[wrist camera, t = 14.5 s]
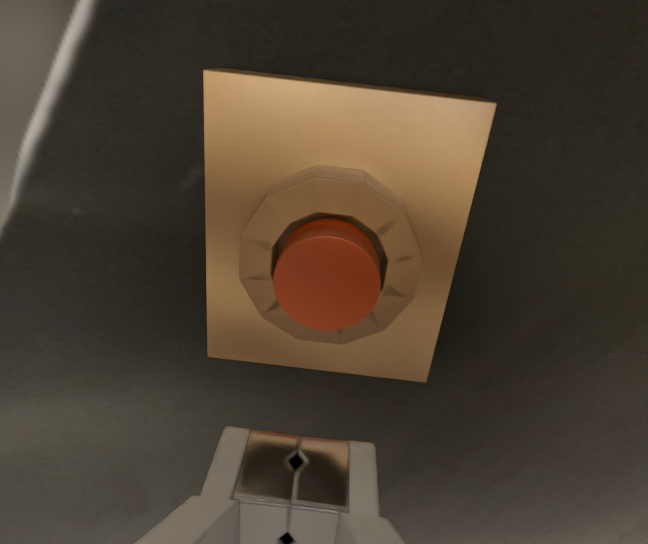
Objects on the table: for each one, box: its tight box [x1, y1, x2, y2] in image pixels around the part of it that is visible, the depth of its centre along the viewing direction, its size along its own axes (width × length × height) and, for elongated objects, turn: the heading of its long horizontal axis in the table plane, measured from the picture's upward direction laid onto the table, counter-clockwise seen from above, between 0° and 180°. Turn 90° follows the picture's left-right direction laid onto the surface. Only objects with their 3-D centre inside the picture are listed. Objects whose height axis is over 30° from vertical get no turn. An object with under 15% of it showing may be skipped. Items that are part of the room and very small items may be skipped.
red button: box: [273, 218, 381, 331], centre depth 16 cm, size 4×4×2 cm
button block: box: [203, 68, 497, 382], centre depth 18 cm, size 12×10×4 cm
